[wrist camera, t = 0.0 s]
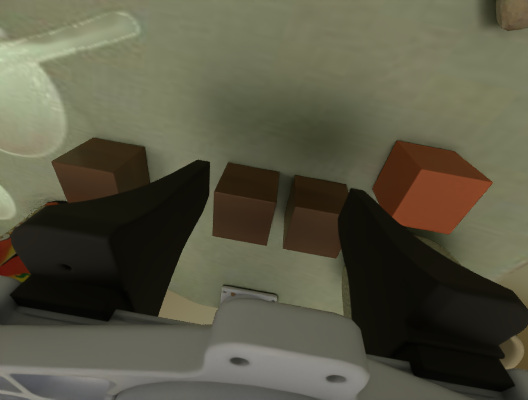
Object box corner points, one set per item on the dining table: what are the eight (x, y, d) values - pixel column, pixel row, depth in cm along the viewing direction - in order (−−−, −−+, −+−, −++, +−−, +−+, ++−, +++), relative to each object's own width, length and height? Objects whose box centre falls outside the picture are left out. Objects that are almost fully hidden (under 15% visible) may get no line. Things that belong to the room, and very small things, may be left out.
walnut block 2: (270, 211, 26) (266, 246, 22) (224, 203, 26) (212, 236, 22) (279, 171, 23) (276, 203, 19) (227, 162, 23) (214, 191, 19)
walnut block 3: (330, 222, 26) (336, 258, 22) (284, 214, 26) (282, 249, 22) (346, 184, 23) (357, 217, 19) (294, 174, 23) (295, 206, 19)
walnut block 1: (151, 189, 26) (125, 220, 22) (105, 181, 26) (70, 210, 22) (145, 146, 23) (113, 172, 19) (92, 137, 23) (50, 161, 19)
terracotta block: (422, 198, 23) (449, 234, 19) (371, 189, 23) (388, 223, 19) (454, 151, 21) (494, 182, 16) (396, 140, 20) (421, 168, 16)
